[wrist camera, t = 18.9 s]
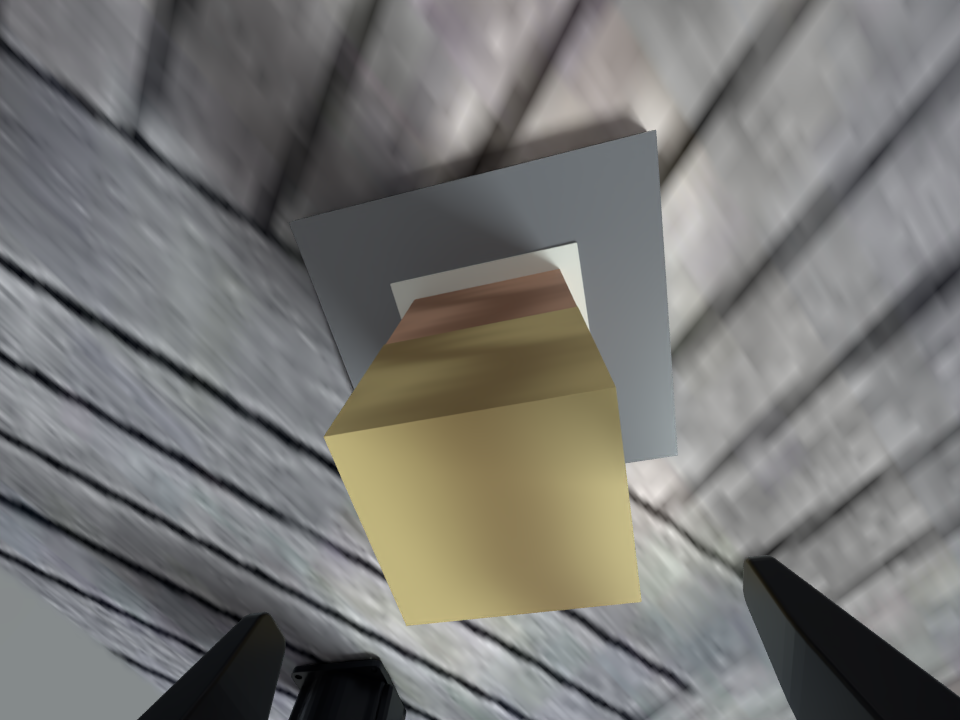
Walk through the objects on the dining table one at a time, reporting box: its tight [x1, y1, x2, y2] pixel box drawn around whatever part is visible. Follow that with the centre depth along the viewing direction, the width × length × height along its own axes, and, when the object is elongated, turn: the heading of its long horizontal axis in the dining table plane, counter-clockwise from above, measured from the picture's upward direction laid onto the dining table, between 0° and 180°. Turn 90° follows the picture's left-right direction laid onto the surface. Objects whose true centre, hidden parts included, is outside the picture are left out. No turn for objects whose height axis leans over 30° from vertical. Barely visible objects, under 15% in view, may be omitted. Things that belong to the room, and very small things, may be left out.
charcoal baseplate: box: [289, 130, 678, 463], centre depth 20 cm, size 14×14×1 cm
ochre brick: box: [324, 307, 641, 626], centre depth 12 cm, size 6×6×5 cm
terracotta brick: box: [386, 269, 577, 344], centre depth 17 cm, size 6×6×5 cm
